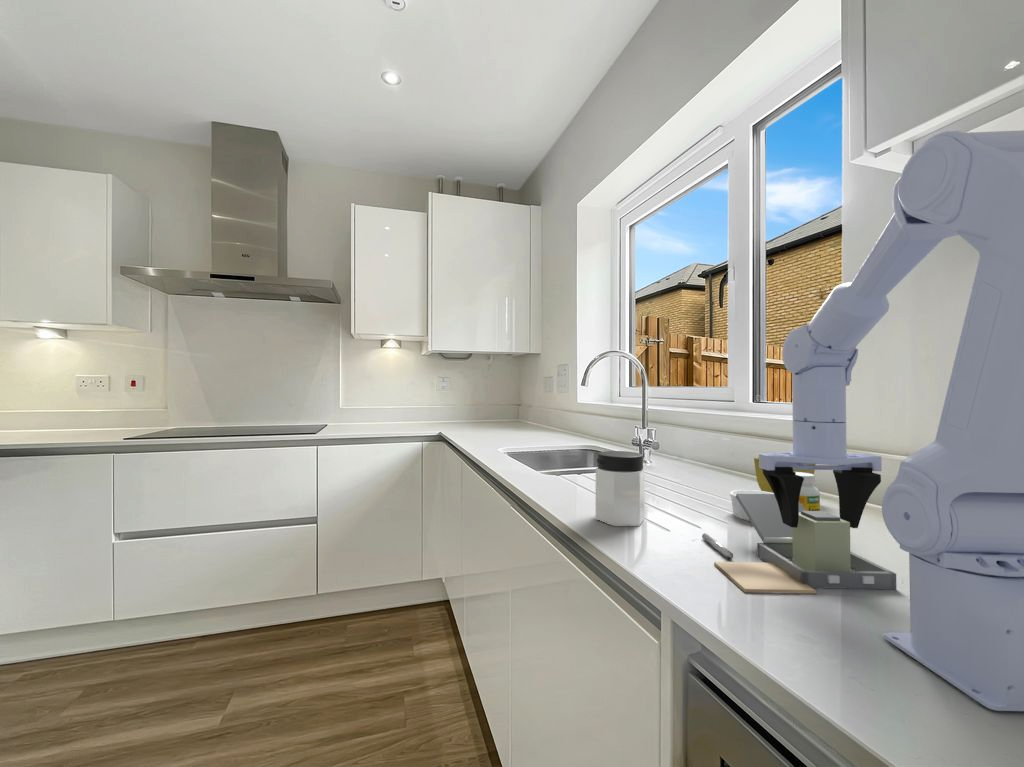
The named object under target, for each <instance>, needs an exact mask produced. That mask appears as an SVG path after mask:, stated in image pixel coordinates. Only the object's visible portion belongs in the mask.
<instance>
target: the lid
mask: <svg viewBox="0 0 1024 767" xmlns="http://www.w3.org/2000/svg"><path fill="white" fill-rule="evenodd" d="M736 498H737V500H738V502H739V503H740V505H741V507H742V508H743V510H744V512H745V513H746V515H747V516H748V518H749V520H750V521H749V522H750V523H751V525H752V526H753V529H754V530H755V532H756V533H757V534H758V536H759V538H760V539H761V541H762V543H788V544H793V543H792V527H790V526H788V525H786V524H784V523H783V522H782V517H781V513H780V510H779V506H778V503H777V500H776V498H775V495H774V494H736ZM801 511H806V509H805V508H804V507H803V505H802V504H801V503H800V502H799V512H801Z"/></svg>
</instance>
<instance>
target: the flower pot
mask: <svg viewBox="0 0 1024 767" xmlns="http://www.w3.org/2000/svg"><path fill="white" fill-rule="evenodd" d="M753 460H754V461H753V462H754V469H755V470H754V471H755V477H756V481H757V485H758V486H759V488H760V491H765V492H771V493H773V491H772V489H771V487H770V485H769V483H768V481H767V479H766V478H765V476H764V475H763V469H762V468H759V456H756V457H754V458H753ZM809 465H817V464H809ZM815 471H816V470H793V472H803V473H810V474H813V475H814V476H815Z"/></svg>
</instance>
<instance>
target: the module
mask: <svg viewBox="0 0 1024 767" xmlns="http://www.w3.org/2000/svg"><path fill="white" fill-rule="evenodd" d="M792 543H793V558H792V562H793V563H794V564H796V565H797V566H799V567H801V568H802V569H804V570H814V571H852V568H851V560H850V552H851V527H850V522H847V521H845V520H842V519H840V516H837V515H835V514H832V513H829V512H826V511H825V510H820V511H801V512H799V521H798V526H797V528H795V527H792Z"/></svg>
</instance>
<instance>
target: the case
mask: <svg viewBox="0 0 1024 767" xmlns="http://www.w3.org/2000/svg"><path fill="white" fill-rule="evenodd" d="M756 547H757V548H756V550H757V554H756V555H757V557H758V558H760V559H762V560H763V561H764V562H765V563H773V564H774V565H776V566H777V567H779V568H780V569H782V570H783V571H785V572H786V573H788V574H789V575H791V576H792V577H793V578H795V579H796V580H798V581H799V582H801V583H802V584H807V585H809V586H810V587H812V588H813V589H856V590H857V589H864V590H865V589H869V590H870V589H875V590H897V573H896V572H894V571H891V570H890V569H888V568H885V567H883V566H882V565H879V564H877V563H875V562H873V561H871V560H869V559H866V558H864V557H862V556H860V555H858V554H856V553H854V552H852V551H850V560H851V569H853V570H851V571H814V570H804V569H802V568H801V567H799V566H797V565H796V564H794V563H793V561H791V560H790V559H789V558H791V559H793V544H788V543H763V542H757V544H756Z"/></svg>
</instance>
